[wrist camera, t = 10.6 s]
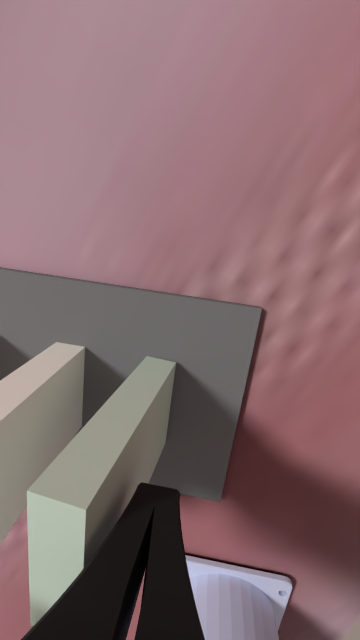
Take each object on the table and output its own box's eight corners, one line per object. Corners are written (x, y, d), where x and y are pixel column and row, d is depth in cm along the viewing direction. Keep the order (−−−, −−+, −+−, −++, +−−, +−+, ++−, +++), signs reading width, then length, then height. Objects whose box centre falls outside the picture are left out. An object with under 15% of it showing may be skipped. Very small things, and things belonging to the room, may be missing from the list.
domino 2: (176, 362, 16) (85, 509, 7) (165, 442, 17) (79, 645, 9) (146, 356, 16) (26, 490, 7) (138, 435, 17) (30, 624, 9)
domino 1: (85, 346, 16) (-64, 476, 8) (81, 426, 18) (-47, 611, 9) (56, 342, 16) (-123, 464, 8) (55, 421, 18) (-96, 599, 9)
